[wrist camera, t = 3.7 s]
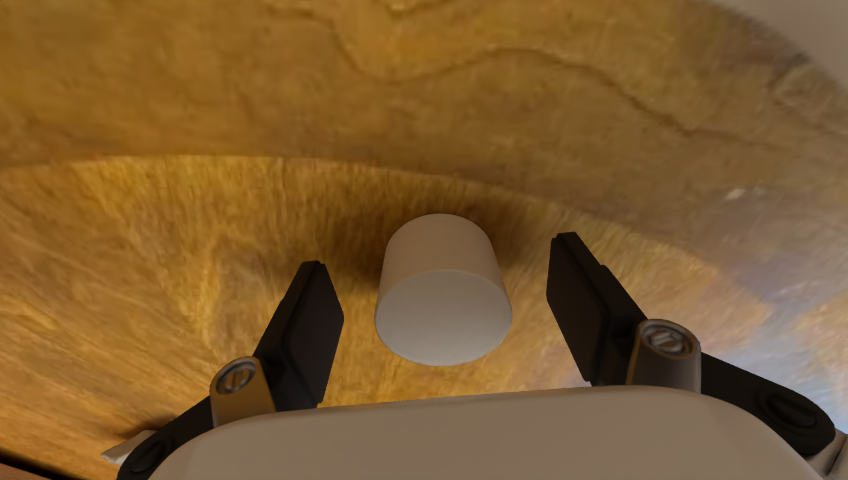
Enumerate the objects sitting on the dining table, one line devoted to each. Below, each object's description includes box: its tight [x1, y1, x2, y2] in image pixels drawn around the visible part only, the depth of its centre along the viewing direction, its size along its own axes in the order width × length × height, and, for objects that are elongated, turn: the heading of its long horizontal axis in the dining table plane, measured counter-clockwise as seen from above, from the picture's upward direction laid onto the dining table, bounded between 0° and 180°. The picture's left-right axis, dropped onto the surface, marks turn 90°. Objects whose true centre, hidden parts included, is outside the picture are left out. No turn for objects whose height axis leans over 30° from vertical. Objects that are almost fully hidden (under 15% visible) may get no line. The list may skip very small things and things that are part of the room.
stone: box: [101, 430, 157, 467], centre depth 20 cm, size 6×2×6 cm
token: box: [374, 213, 512, 366], centre depth 12 cm, size 4×4×3 cm
